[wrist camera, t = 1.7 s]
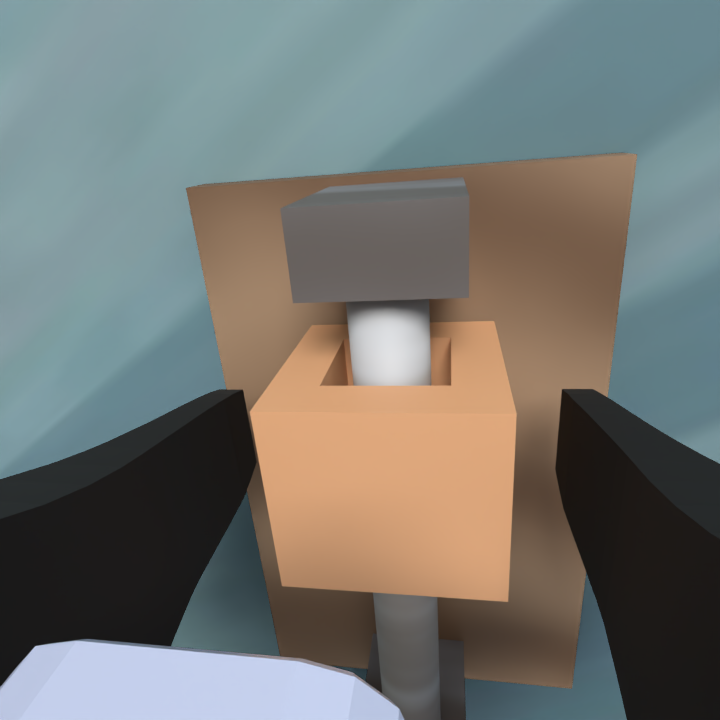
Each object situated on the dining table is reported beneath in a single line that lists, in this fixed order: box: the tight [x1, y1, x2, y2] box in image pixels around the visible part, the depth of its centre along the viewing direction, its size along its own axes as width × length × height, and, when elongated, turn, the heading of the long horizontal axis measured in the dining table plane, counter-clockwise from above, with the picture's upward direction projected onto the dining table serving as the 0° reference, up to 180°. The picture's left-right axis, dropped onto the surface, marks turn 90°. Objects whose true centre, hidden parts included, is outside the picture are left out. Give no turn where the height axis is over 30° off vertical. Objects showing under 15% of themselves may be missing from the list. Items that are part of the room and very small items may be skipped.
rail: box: [186, 153, 637, 720], centre depth 13 cm, size 16×10×5 cm, turn 5°
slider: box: [250, 321, 517, 602], centre depth 11 cm, size 4×4×4 cm
